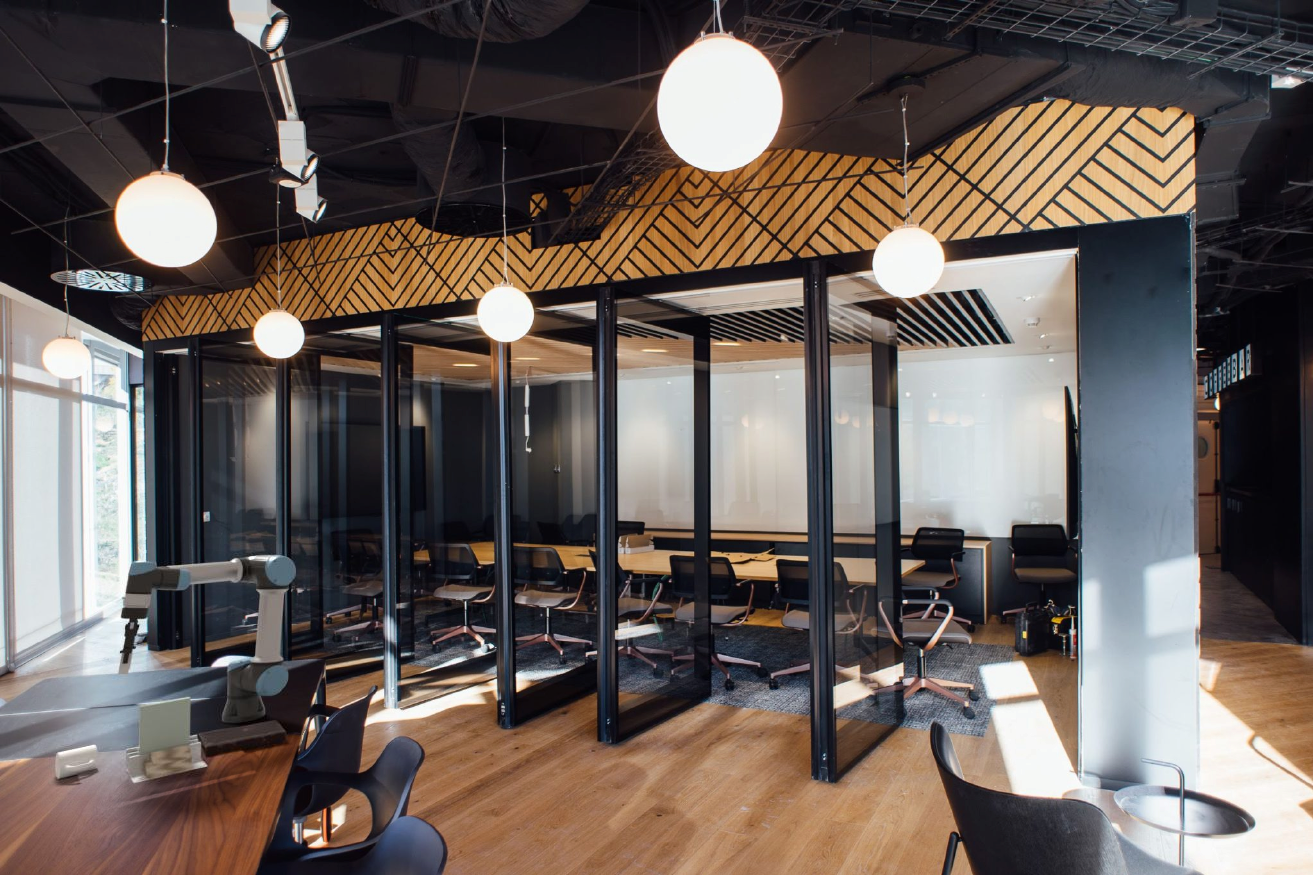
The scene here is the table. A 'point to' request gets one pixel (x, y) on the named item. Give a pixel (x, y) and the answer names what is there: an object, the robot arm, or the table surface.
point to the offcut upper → (170, 755)
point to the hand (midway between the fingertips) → (124, 671)
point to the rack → (137, 762)
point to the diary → (243, 737)
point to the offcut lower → (167, 767)
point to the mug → (76, 761)
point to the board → (164, 725)
